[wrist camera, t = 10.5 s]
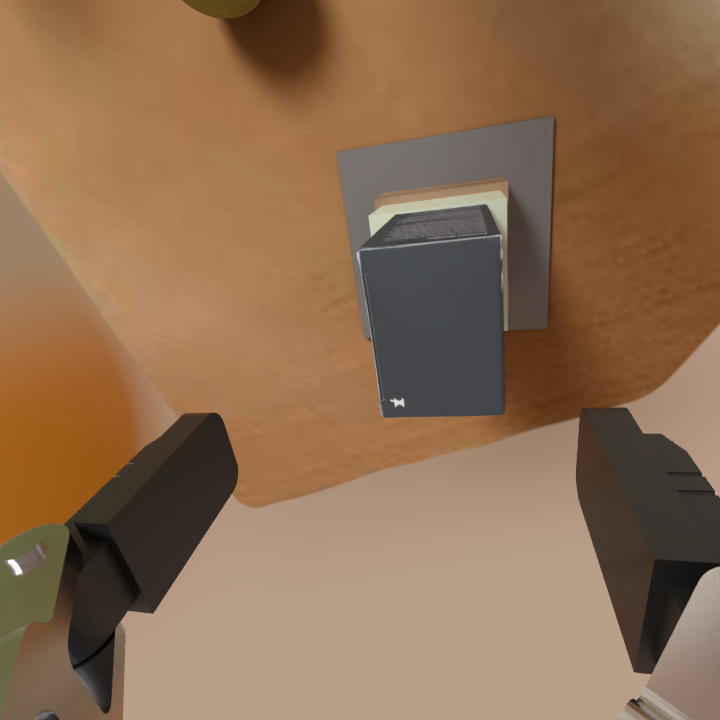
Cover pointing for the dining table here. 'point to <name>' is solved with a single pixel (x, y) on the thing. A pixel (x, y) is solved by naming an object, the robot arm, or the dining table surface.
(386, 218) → the block top
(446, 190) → the block base
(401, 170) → the mat
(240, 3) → the apple
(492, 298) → the box
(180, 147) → the dining table surface
